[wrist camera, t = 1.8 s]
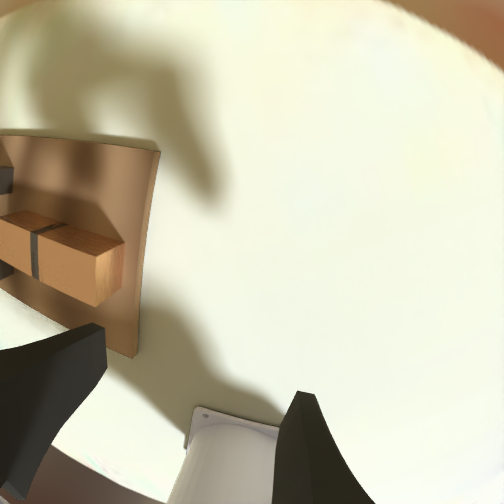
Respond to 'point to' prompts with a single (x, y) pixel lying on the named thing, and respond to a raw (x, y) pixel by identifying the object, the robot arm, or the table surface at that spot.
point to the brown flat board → (82, 221)
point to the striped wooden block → (63, 255)
